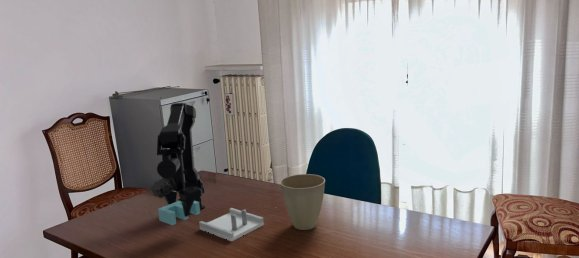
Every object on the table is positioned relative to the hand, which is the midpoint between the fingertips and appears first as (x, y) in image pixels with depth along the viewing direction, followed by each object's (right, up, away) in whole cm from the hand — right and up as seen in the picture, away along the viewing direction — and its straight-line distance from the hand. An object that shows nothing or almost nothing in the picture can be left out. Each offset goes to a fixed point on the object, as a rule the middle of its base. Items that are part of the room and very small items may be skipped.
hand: (179, 213), depth 149 cm
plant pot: (+41, -5, +5) cm, 42 cm away
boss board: (+16, -6, +6) cm, 18 cm away
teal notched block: (0, -1, 0) cm, 1 cm away
